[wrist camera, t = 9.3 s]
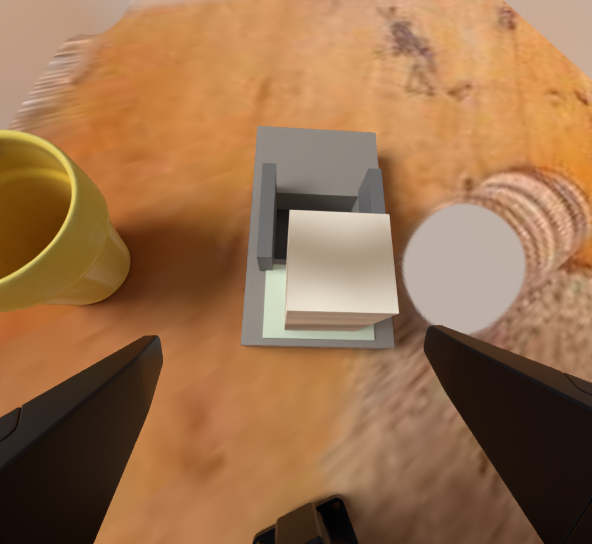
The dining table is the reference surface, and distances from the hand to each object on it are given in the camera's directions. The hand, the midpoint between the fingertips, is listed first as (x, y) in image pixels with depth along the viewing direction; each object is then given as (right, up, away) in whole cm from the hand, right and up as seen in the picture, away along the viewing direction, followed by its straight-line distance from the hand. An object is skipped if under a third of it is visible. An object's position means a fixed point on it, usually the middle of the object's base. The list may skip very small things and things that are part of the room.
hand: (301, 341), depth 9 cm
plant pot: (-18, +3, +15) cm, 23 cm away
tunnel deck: (+1, +6, +16) cm, 17 cm away
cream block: (+2, +1, +11) cm, 12 cm away
